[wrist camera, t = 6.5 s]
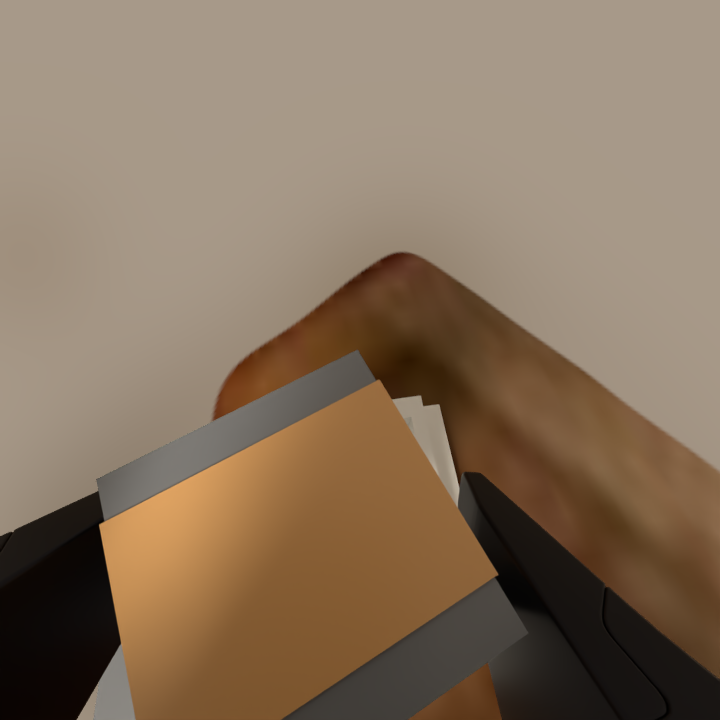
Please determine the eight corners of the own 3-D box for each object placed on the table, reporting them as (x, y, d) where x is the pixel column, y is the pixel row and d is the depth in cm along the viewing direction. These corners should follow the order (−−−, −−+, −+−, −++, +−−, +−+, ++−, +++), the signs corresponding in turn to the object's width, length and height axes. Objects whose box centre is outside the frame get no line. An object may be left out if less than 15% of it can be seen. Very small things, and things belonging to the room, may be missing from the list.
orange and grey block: (427, 562, 14) (532, 631, 4) (316, 632, 13) (168, 893, 4) (369, 454, 15) (360, 347, 6) (269, 510, 15) (90, 480, 5)
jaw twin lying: (246, 835, 16) (199, 943, 12) (139, 852, 16) (54, 967, 12) (248, 574, 20) (214, 585, 16) (165, 586, 20) (110, 600, 16)
